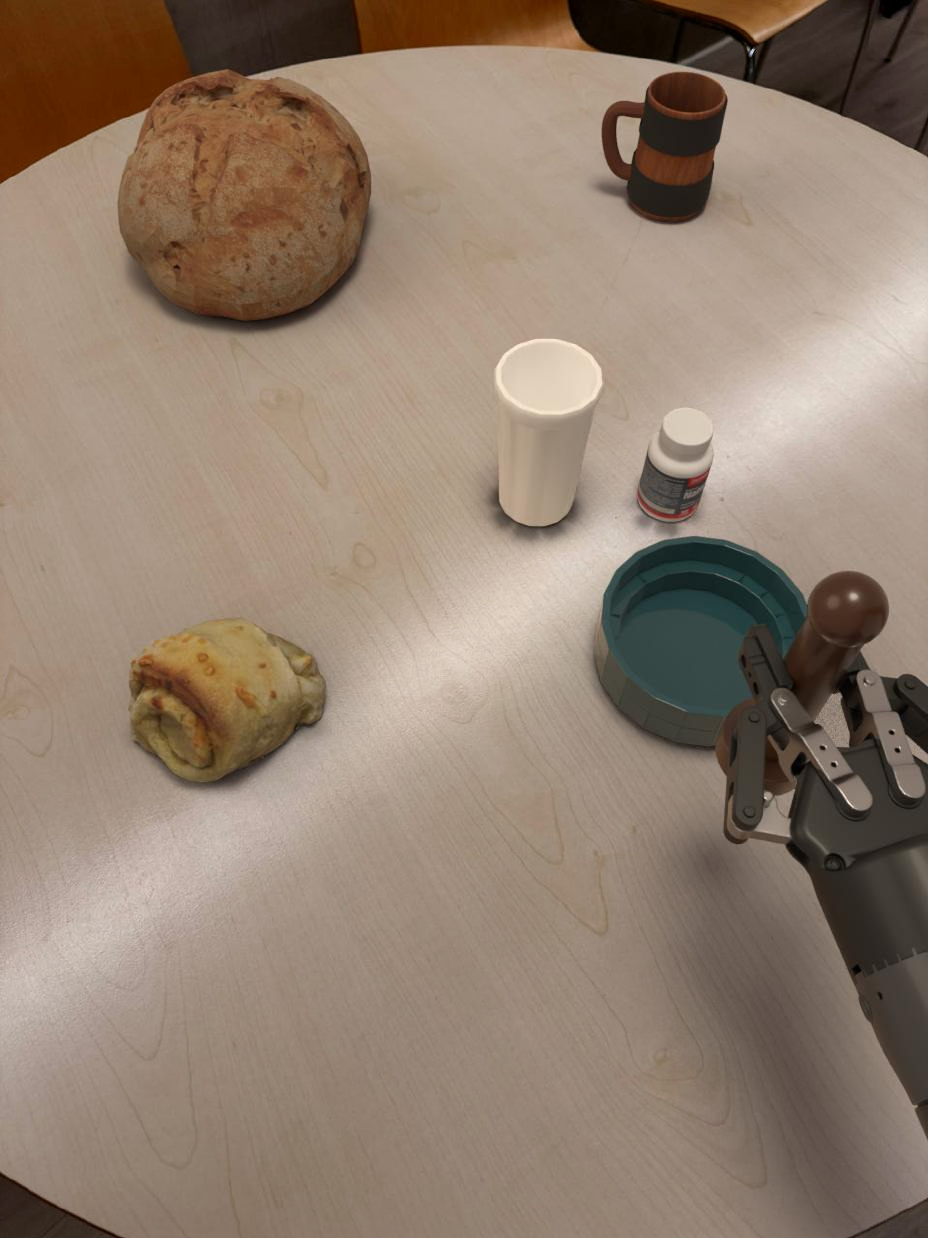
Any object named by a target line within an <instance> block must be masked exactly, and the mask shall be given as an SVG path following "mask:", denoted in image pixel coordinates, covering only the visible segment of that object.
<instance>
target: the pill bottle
mask: <svg viewBox="0 0 928 1238" xmlns="http://www.w3.org/2000/svg"><path fill="white" fill-rule="evenodd" d="M714 431H715V430H714V423H713V421H712V420H711V418H710V417H709V416H708V415H707V414H706V413H704V412H703V411H701V410H699V409H696V408H692V407H678V408H675V409H672V410H670V411H669V412H667V413H666V414H665V415H664V417H663V419H662V423H661V426H660V429H658V431H656V432H655V433H654V434H653V436H651V439H650V440H649V442H648V443H649V444H648V446H647V450H646V455H645V458H644V459H645V460H644V463H643V467H642V470H641V475H640V479H639V482H638V485H637V490H636V498H637V502H638V504H639V507H640V508H641V509H642V511H644V512H645V513H646V514H647V515H648V516H649V517H651V518H654V519H655V520H658V521H662V522H665V523H667V522H668V523H675V522H681V521H683V520H686V519H688V518H690V517H691V516H692V515H694V513H696V511H697V509H698V506H699V504H700V502H701V498H702V495H703V493H704V490H705V486H706V483H707V481H708V477H709V473H710V472H711V471H710V470H711V468H712V465H713V461H714V456H715V451H714V446H713V444H712V440H713V436H714Z"/></svg>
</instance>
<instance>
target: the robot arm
mask: <svg viewBox="0 0 928 1238" xmlns="http://www.w3.org/2000/svg"><path fill="white" fill-rule="evenodd" d="M738 664H739V666H740V668H741V670H742V672H743V675H744V677H745V679H746V682H747V684H748V686H749V689H750V691H751V693H752V695H753V698H754V700H755V702H756V706H755V707H747V708H745V709H744V710H743V711H742V713H741V715H740V717H739V721H738V723H737V725H736V727H735V728H734V729H733V730H732V732H731V734H730V737H729V750H728V765H727V776H726V782H725V797H724V813H723V829H722V831H723V832H722V833H723V836H724V837H725V839H726V840H727V841H728V842H729V843H731V844H734V845H738V846H739V845H743V844H745V843H746V842H748V840H749V839H753V840H759V841H764V842H769V843H774V844H780V845H784V847H785V849H786V850H787V852H788V854H789V855H790V856H791V857H792V858H793V859H794V860H795V861H796V862H797V863H798V864H800V865H801V866H802V868H803V869H804V871H806V873H807V874H808V876H809V879H810V880H811V883H812V886H813V890H814V893H815V896H816V899H817V901H818V904H819V906H820V908H821V911H822V913H823V915H824V918H825V920H826V922H827V924H828V927H829V929H830V931H831V934H832V937H833V939H834V941H835V943H836V946H837V948H838V950H839V953H840V955H841V957H842V960H843V962H844V964H845V967H846V970H847V971H848V974H849V976H850V979H851V981H852V983H853V985H854V988H855V990H856V992H857V995H858V1003H859V1006H860V1009H861V1011H862V1013H863V1016H864V1017H865V1019H866V1021H867V1022H869V1023H870V1026H871V1028H872V1030H873V1033H874V1035H875V1037H876V1040H877V1042H878V1044H879V1046H880V1048H881V1050H882V1052H883V1055H884V1056H885V1058H886V1060H887V1062H888V1063H889V1065H890V1066H891V1068H892V1071H893V1072H894V1073H895V1075H896V1077H897V1078H898V1080H899V1083H900V1084H901V1086H902V1087H903V1089H904V1091H905V1093H906V1095H907V1097H908V1099H909V1101H910V1103H911V1105H912V1106H914V1107H915V1106H916V1107H915V1108H914V1112H915V1115H916V1117H917V1119H918V1122H919V1124H920V1126H921V1129H922V1131H923V1134H924V1135H925V1138H926V1140H927V1141H928V763H927V762H926V761H924V760H922V759H921V758H920V757H918V756H916V755H915V754H913V753H912V750H911V747H910V744H909V740H911V741H912V742H913V743H914V744H916V745H917V746H918V747H919V749H921V750H922V751H923V752H924V753H925V754H926V755H928V685H926V683H924V682H923V681H922V680H921V679H919V678H918V677H917V676H916V675H914V674H911V673H903V674H901V675H899V676H898V678H897V677H888V676H883V675H879V674H878V673H877V672H876V671H874V670H872V669H871V668H870V666H869V665H868V662H867V661H866V659H865V657H864V655H863V653H862V650H860V652H859V654H858V655H857V657H856V658H855V660H854V661H853V663H852V664H851V666H850V667H849V669H848V670H847V672H846V673H845V675H844V676H843V678H842V679H841V681H840V682H839V684H838V686H837V687H836V689H835V690H834V692H833V693H832V695H835V694H840V695H841V697H840V707H841V710H842V713H843V717H844V720H845V723H846V727H847V730H848V734H849V739H848V747H846V746H836V744H835V743H834V741H833V740H832V739H831V737H830V735H829V733H828V732H827V731H826V729H825V727H823V726H822V725H821V724H820V723H815V721H814V722H813V721H812V720H811V718H810V716H809V715H808V713H807V712H806V710H805V709H804V707H803V706H802V704H801V703H800V701H799V700H798V698H797V697H796V695H795V694H794V693H793V692H792V691H791V688H792V686H793V684H794V682H793V680H792V678H791V676H790V674H789V672H788V670H787V668H786V665H785V663H784V661H783V659H782V657H781V655H780V652H779V650H778V648H777V646H776V644H775V642H774V640H773V637H772V635H771V633H770V631H769V629H768V627H767V625H766V624H759V625H754V626H750V627H749V629H748V631H747V633H746V635H745V637H744V640H743V643H742V645H741V647H740V650H739V652H738ZM766 737H767V738H768V739H769V741H770V742H771V744H772V745H773V747H774V749H775V750H776V752H777V754H778V757H779V764H780V767H781V768H782V770H783V772H784V773H785V775H786V776H787V778H788V780H789V781H790V783H791V784H792V786H793V788H794V789H793V790H794V791H793V796H792V800H791V804H790V806H789V807H790V808H789V811H788V815H787V816H786V815H784V814H783V813H782V812H781V811H780V809H779V806H778V801H777V797H776V796H774V795H773V794H772V793H771V792H770V791H766V790H764V775H765V753H766ZM907 737H908V738H909V740H908V738H907Z"/></svg>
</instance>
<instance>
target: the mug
mask: <svg viewBox="0 0 928 1238" xmlns="http://www.w3.org/2000/svg"><path fill="white" fill-rule="evenodd" d="M728 101H729V99H728V95H727V93H726V91H725V89H724V87H723V86H722V85H721V84H720V82H718V81H716V80H715V79H713V78H712V77H709V76H707V75H705V74H701V73H697V72H691V71H672V72H667V73H664V74H661V75H659V76H657V77H655V78H654V79H653V80H652V81H651V82H650V83H649V85H648V86H647V87H646V90H645V96H644V102H636V101H631V100H618V101H615V102H614V103H612V104H611V105H610V106H609V107H608V108H606V111H605V113H604V115H603V117H602V122H601V144H602V150H603V156H604V159H605V161H606V164H607V166H608V169H609V170H610V171H611V173H612V174H613V175H615V176H616V177H617V178H619V179H621V180H623V181H626V182H627V184H626V194H627V197H628V199H629V202H630V203H631V205H632V206H633V208H634V209H635V211H637V212H638V213H640V214H641V215H643V216H644V217H647V218H649V219H651V220H655V221H657V222H658V221H659V222H665V223H667V222H668V223H672V222H673V223H675V222H681V221H684V220H685V221H686V220H687V219H690V218H692V217H694V216H695V215H696V214H698V213H699V211H701V210H702V209H703V208H704V207H705V206H706V204H707V203H708V200H709V196H710V193H711V189H712V183H713V177H714V170H715V159H714V158H715V153H716V148H717V146H718V145H719V143H720V140H721V136H722V132H723V131H722V130H723V125H724V120H725V117H726V116H725V115H726V112H727V107H728ZM619 117H626V118H631V119H640V121H639V126H638V134H639V135H638V139H637V145H636V148H635V150H634V151H633V154H632V158H631V163H626V162H625V161H624V160H623V158H622V156H621V153H620V149H619V145H618V136H617V125H618V119H619Z"/></svg>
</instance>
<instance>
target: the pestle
mask: <svg viewBox="0 0 928 1238" xmlns="http://www.w3.org/2000/svg"><path fill="white" fill-rule="evenodd" d="M889 615H890V603H889V599H888V596H887V593H886V592H885V590H884V588H883V586H882V585H881V584H880V582H878V581H877V580H876V579H874V578H873V577H872V576H870V575H868V574H866V573H864V572H861V571H855V570H842V571H836V572H834V573H831V574H828V575H827V576H825V577H824V578H822V579H821V580H820V581H819V582H818V583H817V584H815V586H814V587H813V589H812V590H811V592H810V594H809V597H808V599H807V616H806V618H805V620H804V622H803V623H802V625H801V627H800V629H799V631H798V633H797V635H796V636H795V638H794V640H793V642H792V644H791V646H790V647H789V649H788V651H787V653H786V655H785V657H784V659H783V661H784V663H785V665H786V668H787V670H788V672H789V674H790V676H791V678H792V680H793V682H794V684H793V686H792V688H791V691H792V692H793V693H794V694H795V695H796V697H797V698H798V700H799V701H800V703H801V704H802V706H803V707H804V709H805V710H806V712H807V713H808V715H809V716H810V718H811V720H812V721H813V722H814V723H815V721H816V719H817V718H818V716H819V715H820V713H821V712H822V710H823V709H824V707H825V705H826V704H827V703H828V701H829V699H831V697H832V695H833V692H834V690H835V689H836V687H837V686H838V684H839V682H840V681H841V679H842V678H843V676H844V675H845V673H846V672H847V670H848V669H849V667H850V666H851V664H852V663H853V661H854V660H855V658H856V657H857V655H858V654H859V652H860V651H862V649H863V648H864V646H865V645H866V644H868V643H870V642H872V641H873V640H875V639H876V638H877V637H878V636H880V634H881V633H882V632H883V630H884V629H885V627H886V625H887V622H888V620H889ZM755 706H756V702H755V700H754V698H752V699H748V700H746V701H743V702H741V703H739V704H738V705H736V706H735V707H734V708H733V709H732V710H731V711H730V712H729V714H728V715H727V717H726V719H725V721H724V723H723V725H722V727H721V729H720V731H719V734H718V736H717V739H716V745H715V756H716V759H717V763H718V765H719V767H720V769H721V770H722V772H723V774H724V775H725V777H727V765H728V750H729V737H730V734H731V732H732V730H733V729H734V728H735V727H736V725H737V723H738V721H739V717H740V715H741V713H742V711H743V710H744V709H745V708H747V707H755ZM764 790H766V791H770V792H771V793H772V794H773V795H774V796H775V797H778V796H782V795H785V794H787V793H790V792H792V791H793V790H795V789H794V788H793V786H792V784H791V783H790V781H789V780H788V778H787V776H786V775H785V773H784V772H783V770H782V768H781V767H780V764H779V757H778V754H777V752H776V750H775V749H774V747H773V745H772V744H771V742H770V741H769V739H768V738H767V737H766V753H765V775H764Z"/></svg>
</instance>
